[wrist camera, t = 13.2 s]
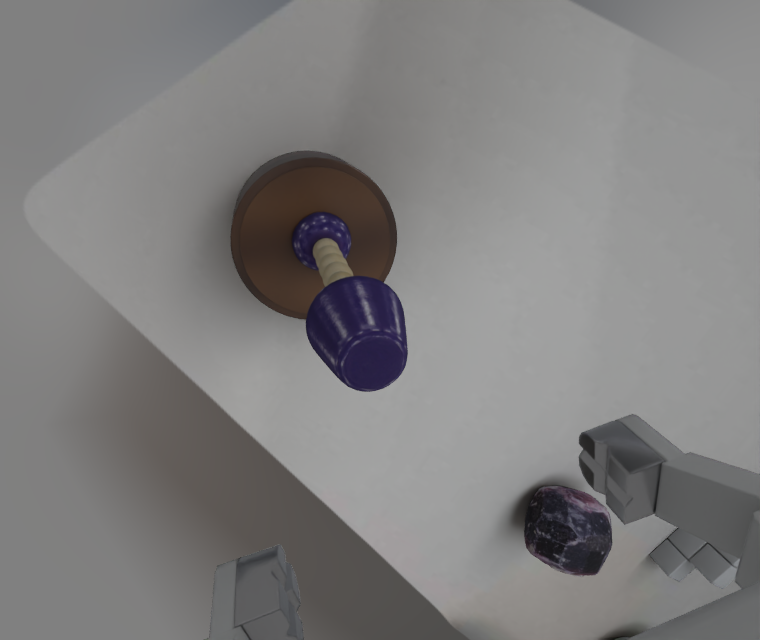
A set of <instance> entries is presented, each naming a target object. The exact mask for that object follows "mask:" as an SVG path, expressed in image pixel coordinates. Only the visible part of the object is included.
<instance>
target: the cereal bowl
mask: <svg viewBox="0 0 760 640" xmlns="http://www.w3.org/2000/svg"><path fill="white" fill-rule="evenodd" d="M628 638H629V637H620V638H617V639H614V640H626V639H628Z"/></svg>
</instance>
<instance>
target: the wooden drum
mask: <svg viewBox="0 0 760 640" xmlns="http://www.w3.org/2000/svg"><path fill="white" fill-rule="evenodd" d="M316 212H327V213H331V214H333V215H336V216H338V217H339V218H340V219H342V220H343V221H344V222H345V223H346V225H347V226H348V228H349V231H350V234H351V248H350V251H349V254H348V256H347V258H346V259H345V260H346V261H347V263H348V266H349V267H350V269H351V270H352V272H353V276H367V277H371V278H375V279H378V280H380V281H382V282H384V281H385V279H386V277H387V275H388V274H389V272H390V269H391V267H392V264H393V261H394V257H395V253H396V246H397V230H396V222H395V219H394V215H393V212H392V209H391V207H390V204H389V202H388V200H387V199H386V197H385V195H384V194H383V192H382V191H381V190H380V188H379V187H378V186H377V185H376V184H375V183H374V182H373V181H372V180H371V179H370V178H369V177H368V176H367V175H365V174H364V173H363V172H361V171H360V170H358V169H357V168H355V167H353V166H352V165H350V164H348V163H347V162H345V161H343V160H341V159H340V158H338V157H335V156H332V155H330V154H326V153H322V152H316V151H297V152H291V153H287V154H284V155H281V156H278V157H276V158H274V159H272V160H270V161H268V162H267V163H265V164H264V165H262V166H261V167H260V168H258V169H257V170H256V171H255V172H254V173H253V174H252V175H251V177H250V178H249V179H248V180H247V181H246V183H245V185H244V186H243V188H242V190H241V192H240V194H239V196H238V199H237V202H236V206H235V209H234V215H233V221H232V228H231V251H232V257H233V260H234V263H235V267H236V269H237V271H238V274H239V276H240V278H241V279H242V281H243V282H244V284H245V285H246V287H247V288H248V289H249V291H250V292H251V293H252V294H253V295H254V296H255V297H256V298H257V299H258V300H259V301H261V302H262V303H263V304H265V305H266V306H268V307H269V308H271V309H273V310H275V311H277V312H279V313H281V314H284V315H286V316H290V317H294V318H298V319H306V318H307V313H308V310H309V307H310V305H311V303H312V302H313V300H314V298H315V297H316V296H317V294H318V293H319V292H321V290H322V289H323V288H324V287H325V286H324V283H323V278H322V277H321V275H320V273H319V271H318V270H313V269H311V268H308V267H307V266H305V265H304V264H302V263H301V262H300V261H299V260H298V258H297V257H296V255H295V253H294V250H293V246H292V237H293V232H294V230H295V228H296V226H297V225H298V223H299V222H300V221H301V220H302V219H304V218H305V217H307V216H308V215H310V214H313V213H316Z"/></svg>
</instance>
